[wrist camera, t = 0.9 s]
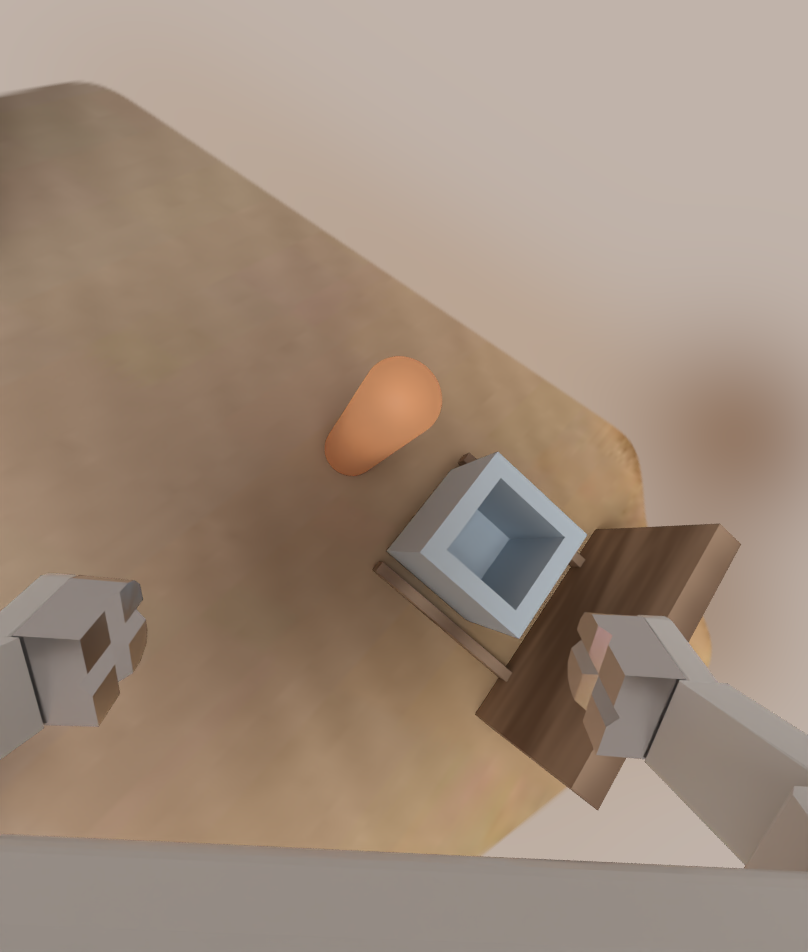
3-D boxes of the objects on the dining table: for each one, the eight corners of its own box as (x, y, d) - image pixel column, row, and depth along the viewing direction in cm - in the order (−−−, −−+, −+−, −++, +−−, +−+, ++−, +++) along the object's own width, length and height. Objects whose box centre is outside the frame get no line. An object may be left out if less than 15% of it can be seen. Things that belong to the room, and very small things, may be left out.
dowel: (313, 451, 37) (345, 396, 23) (348, 412, 38) (398, 339, 24) (354, 486, 37) (408, 453, 24) (387, 447, 38) (457, 395, 25)
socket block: (386, 551, 37) (419, 552, 29) (451, 469, 39) (497, 451, 32) (466, 620, 38) (519, 638, 30) (524, 536, 40) (587, 534, 33)
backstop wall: (344, 605, 36) (385, 633, 24) (485, 427, 41) (574, 380, 29) (494, 730, 38) (597, 810, 26) (611, 544, 43) (740, 544, 31)
